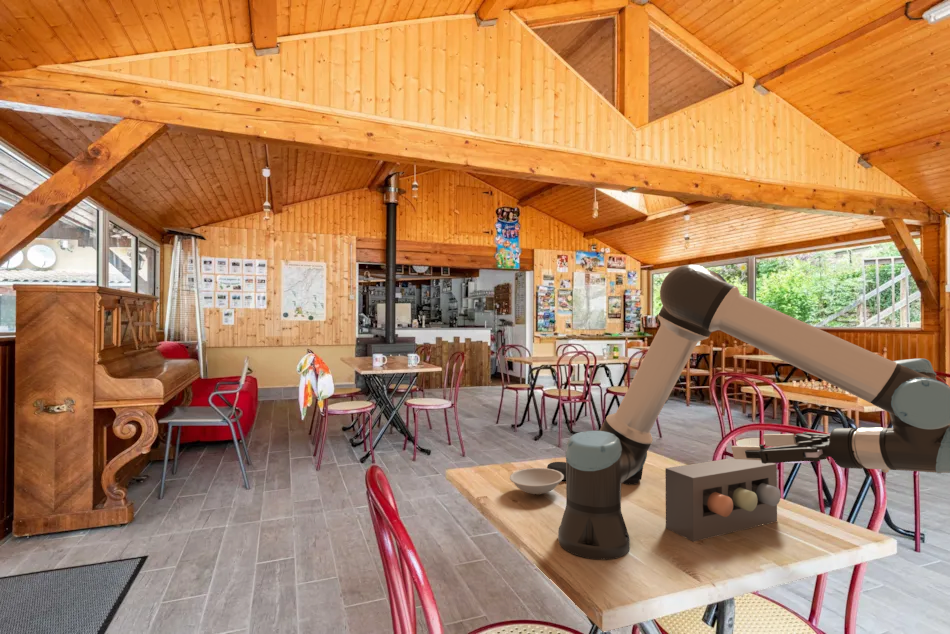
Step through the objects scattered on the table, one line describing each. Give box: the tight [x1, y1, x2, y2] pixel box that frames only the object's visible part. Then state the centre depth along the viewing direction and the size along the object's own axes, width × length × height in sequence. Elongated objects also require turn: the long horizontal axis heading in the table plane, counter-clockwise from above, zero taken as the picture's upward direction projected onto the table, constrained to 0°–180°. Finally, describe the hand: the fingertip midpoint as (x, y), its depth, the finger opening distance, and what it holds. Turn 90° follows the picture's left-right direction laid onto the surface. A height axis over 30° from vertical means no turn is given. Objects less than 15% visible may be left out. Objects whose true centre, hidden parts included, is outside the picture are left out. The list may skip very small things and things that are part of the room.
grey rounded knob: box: [752, 483, 781, 506], centre depth 115 cm, size 4×6×4 cm
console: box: [665, 457, 778, 542], centre depth 116 cm, size 28×8×14 cm, turn 114°
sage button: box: [728, 488, 758, 511], centre depth 112 cm, size 4×6×4 cm
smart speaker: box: [546, 461, 566, 480], centre depth 152 cm, size 9×9×4 cm
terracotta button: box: [703, 492, 733, 517], centre depth 109 cm, size 4×6×4 cm
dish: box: [509, 467, 564, 495], centre depth 137 cm, size 18×14×5 cm
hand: (749, 446), depth 109 cm, fingers open, 13 cm apart
